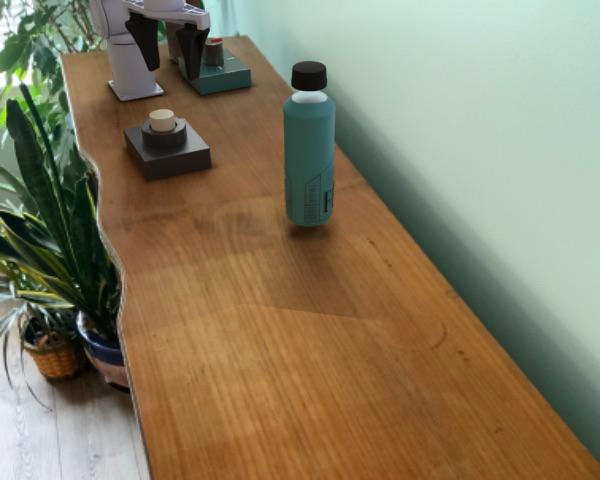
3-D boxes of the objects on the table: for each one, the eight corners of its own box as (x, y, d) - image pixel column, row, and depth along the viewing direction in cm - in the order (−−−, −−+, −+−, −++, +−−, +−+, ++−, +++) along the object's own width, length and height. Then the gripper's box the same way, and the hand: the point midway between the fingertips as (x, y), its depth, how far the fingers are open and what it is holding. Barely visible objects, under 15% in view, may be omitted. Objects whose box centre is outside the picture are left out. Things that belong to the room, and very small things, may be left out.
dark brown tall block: (165, 55, 128) (147, -65, 114) (199, 49, 131) (186, -68, 116) (176, 67, 124) (159, -56, 109) (211, 61, 126) (199, -60, 111)
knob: (207, 67, 115) (204, 44, 113) (199, 60, 118) (197, 37, 115) (227, 63, 117) (225, 40, 114) (219, 57, 119) (217, 34, 116)
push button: (148, 125, 95) (146, 111, 93) (171, 121, 96) (169, 107, 94) (155, 134, 93) (153, 121, 91) (178, 130, 94) (176, 116, 92)
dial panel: (180, 73, 122) (177, 55, 119) (228, 64, 125) (226, 47, 122) (201, 94, 114) (199, 76, 112) (251, 85, 117) (250, 67, 115)
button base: (126, 148, 100) (120, 116, 96) (186, 135, 103) (182, 104, 99) (148, 181, 92) (142, 148, 89) (212, 167, 95) (208, 134, 92)
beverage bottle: (328, 240, 82) (334, 77, 67) (279, 234, 83) (274, 73, 68) (336, 214, 86) (344, 56, 71) (289, 209, 87) (287, 52, 72)
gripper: (219, -31, 86) (227, 74, 96) (137, -44, 91) (153, 57, 101) (188, -19, 82) (200, 89, 92) (104, -33, 87) (124, 71, 97)
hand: (173, 74), depth 96 cm, fingers open, 7 cm apart
